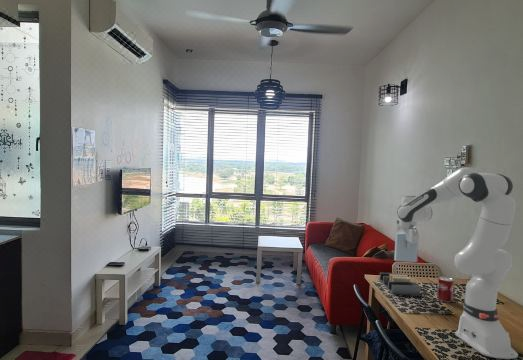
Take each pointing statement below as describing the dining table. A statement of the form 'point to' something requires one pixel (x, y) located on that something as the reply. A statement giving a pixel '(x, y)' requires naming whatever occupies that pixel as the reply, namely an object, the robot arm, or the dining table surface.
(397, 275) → the offcut back
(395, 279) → the offcut front
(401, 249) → the acrylic sheet
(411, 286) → the rack
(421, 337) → the dining table surface
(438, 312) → the dining table surface
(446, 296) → the soda can
